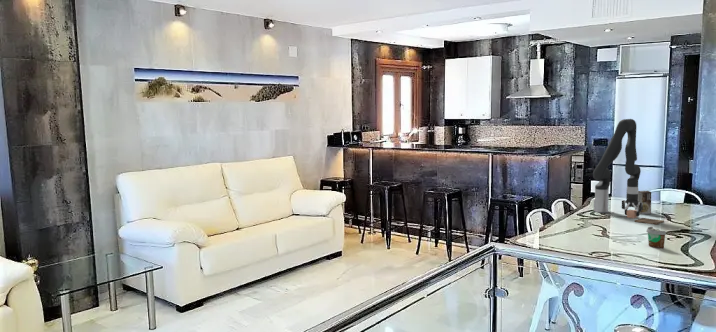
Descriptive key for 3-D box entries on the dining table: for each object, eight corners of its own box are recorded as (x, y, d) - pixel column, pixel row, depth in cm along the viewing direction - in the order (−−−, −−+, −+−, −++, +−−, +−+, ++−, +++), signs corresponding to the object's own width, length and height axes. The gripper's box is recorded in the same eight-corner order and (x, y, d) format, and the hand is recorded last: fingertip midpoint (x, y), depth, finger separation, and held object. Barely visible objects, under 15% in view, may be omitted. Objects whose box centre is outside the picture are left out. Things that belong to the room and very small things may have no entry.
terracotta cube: (626, 217, 380) (626, 210, 380) (629, 216, 384) (630, 209, 383) (633, 218, 377) (634, 211, 376) (637, 217, 380) (637, 210, 379)
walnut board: (634, 221, 365) (634, 220, 365) (642, 219, 373) (642, 217, 373) (656, 224, 354) (656, 223, 354) (664, 222, 362) (664, 220, 362)
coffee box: (647, 212, 396) (647, 190, 394) (651, 213, 390) (651, 191, 388) (634, 212, 397) (635, 190, 395) (638, 213, 391) (638, 192, 389)
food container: (641, 244, 308) (641, 226, 307) (651, 243, 309) (652, 226, 308) (655, 249, 296) (655, 231, 295) (665, 248, 297) (666, 231, 295)
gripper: (619, 192, 381) (619, 215, 383) (640, 194, 370) (640, 218, 372) (624, 191, 386) (624, 213, 388) (645, 193, 375) (644, 216, 377)
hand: (631, 215), depth 380 cm, fingers open, 7 cm apart
